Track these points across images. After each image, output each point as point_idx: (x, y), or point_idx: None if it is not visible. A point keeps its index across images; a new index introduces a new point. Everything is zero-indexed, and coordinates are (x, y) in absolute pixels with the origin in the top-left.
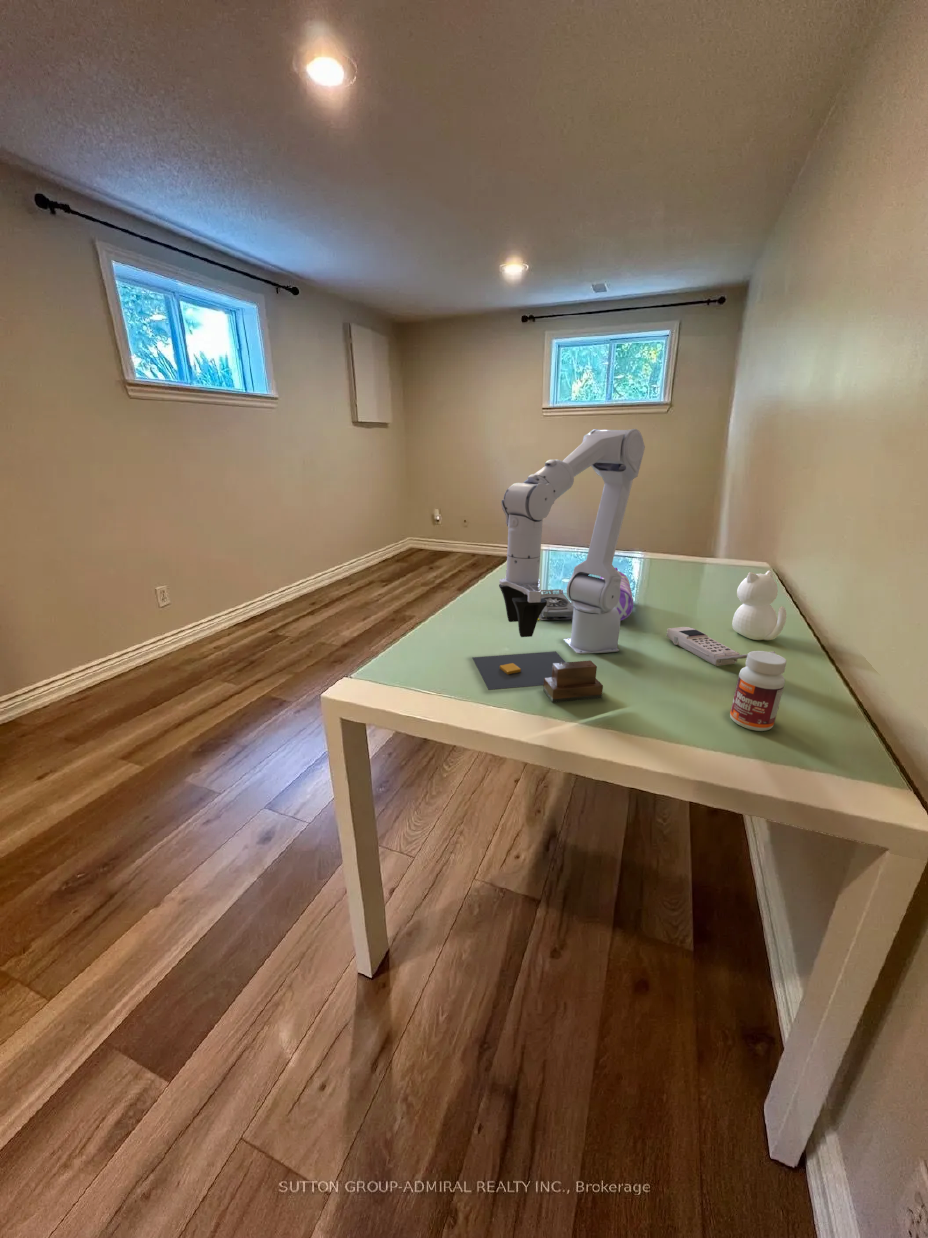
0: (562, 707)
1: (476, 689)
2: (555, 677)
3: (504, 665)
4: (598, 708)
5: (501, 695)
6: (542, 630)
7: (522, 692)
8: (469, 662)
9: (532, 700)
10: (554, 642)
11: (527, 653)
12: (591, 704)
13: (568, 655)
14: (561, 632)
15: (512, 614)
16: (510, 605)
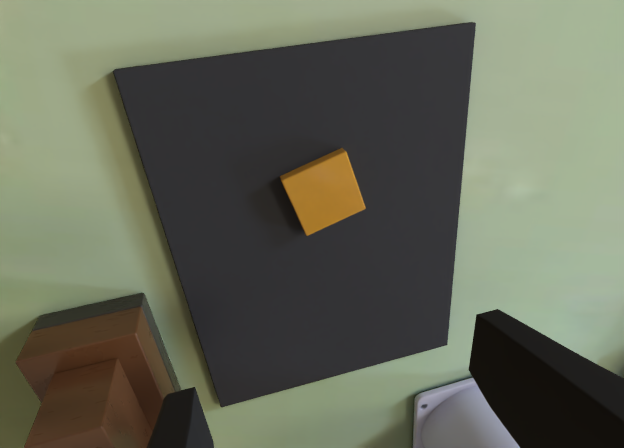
0: None
1: (135, 4)
2: (66, 394)
3: (344, 172)
4: None
5: (86, 130)
6: (610, 312)
7: (131, 220)
8: (440, 3)
9: (62, 252)
10: None
11: (453, 262)
12: None
13: (420, 371)
14: None
15: (514, 373)
16: (587, 429)
